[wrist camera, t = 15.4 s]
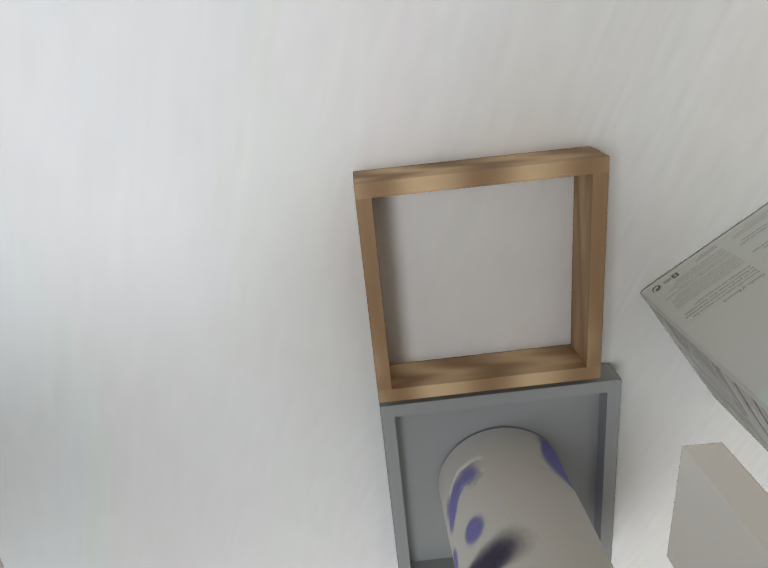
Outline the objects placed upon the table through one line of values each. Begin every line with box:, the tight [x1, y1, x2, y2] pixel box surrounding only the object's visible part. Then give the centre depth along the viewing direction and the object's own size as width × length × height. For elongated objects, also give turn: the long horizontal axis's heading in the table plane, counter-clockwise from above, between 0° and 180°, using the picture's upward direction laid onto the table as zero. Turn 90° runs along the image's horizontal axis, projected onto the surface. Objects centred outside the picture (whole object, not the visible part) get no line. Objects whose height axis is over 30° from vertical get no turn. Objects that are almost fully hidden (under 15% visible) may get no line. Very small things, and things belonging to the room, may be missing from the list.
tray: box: [380, 363, 621, 568], centre depth 51 cm, size 18×18×2 cm
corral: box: [353, 146, 610, 403], centre depth 44 cm, size 16×16×4 cm
